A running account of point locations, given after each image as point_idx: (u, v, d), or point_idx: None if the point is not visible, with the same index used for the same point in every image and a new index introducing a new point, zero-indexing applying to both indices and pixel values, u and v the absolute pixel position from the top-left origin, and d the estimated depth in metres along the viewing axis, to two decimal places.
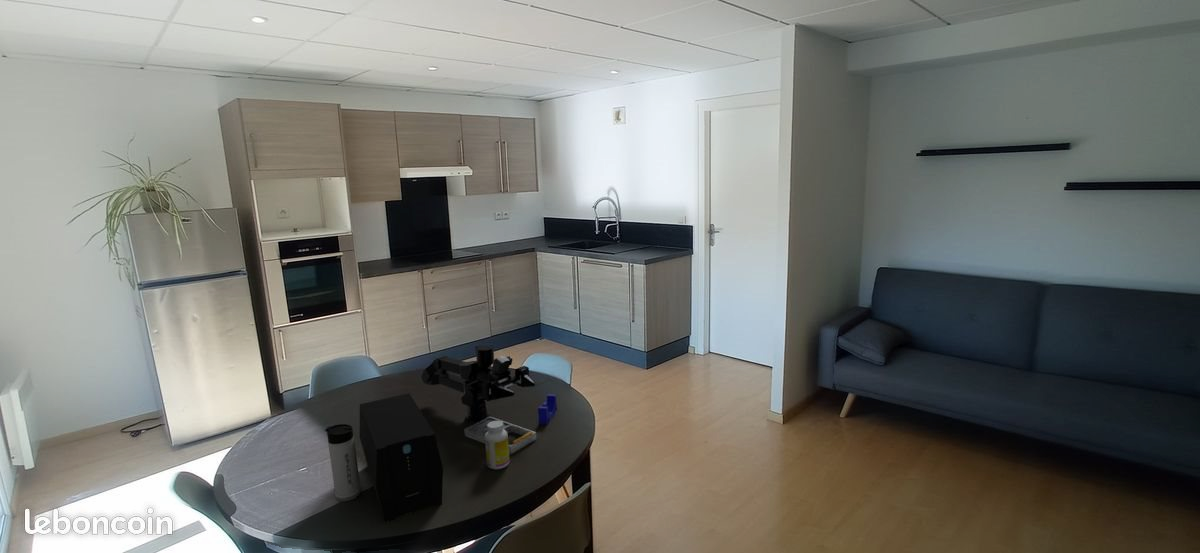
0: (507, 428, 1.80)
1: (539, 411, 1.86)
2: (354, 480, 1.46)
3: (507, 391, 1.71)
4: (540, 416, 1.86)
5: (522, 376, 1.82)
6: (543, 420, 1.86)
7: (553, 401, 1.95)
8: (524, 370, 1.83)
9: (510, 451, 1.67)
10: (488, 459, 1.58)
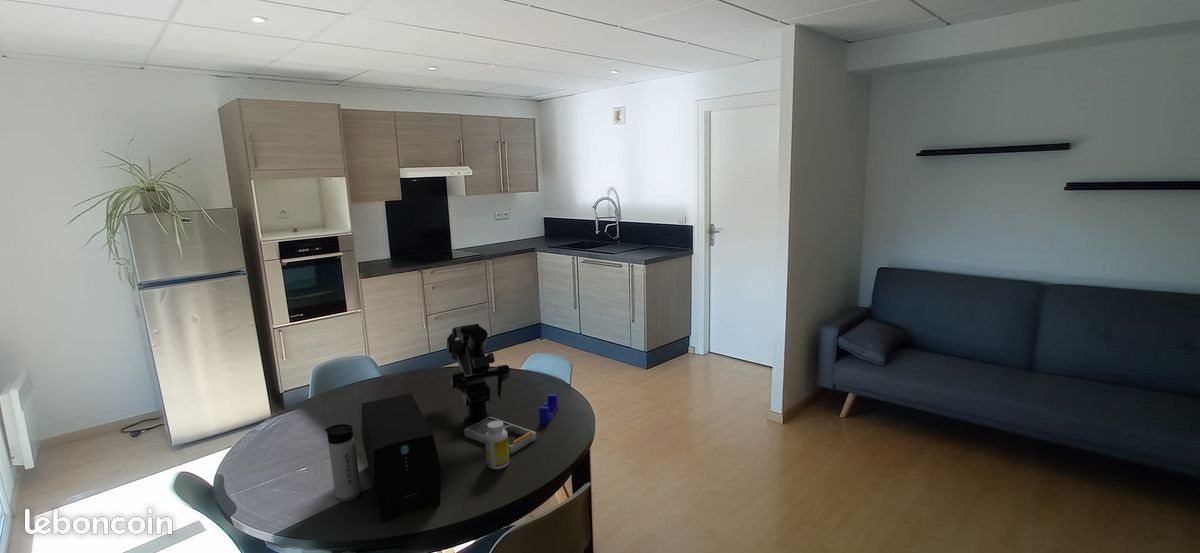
0: (507, 428, 1.80)
1: (540, 411, 1.86)
2: (354, 480, 1.46)
3: (467, 396, 1.73)
4: (541, 416, 1.86)
5: (497, 378, 1.78)
6: (544, 420, 1.86)
7: (554, 401, 1.95)
8: (502, 374, 1.78)
9: (510, 451, 1.67)
10: (488, 459, 1.58)
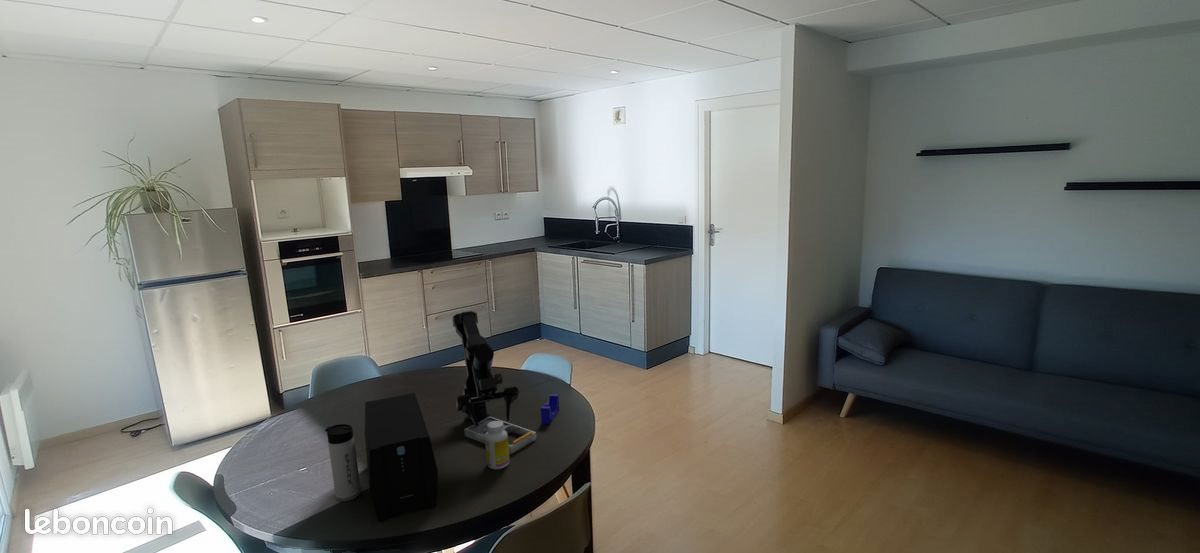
0: (507, 428, 1.80)
1: (542, 411, 1.86)
2: (354, 480, 1.46)
3: (473, 420, 1.61)
4: (543, 416, 1.86)
5: (505, 400, 1.67)
6: (546, 420, 1.86)
7: (555, 401, 1.95)
8: (510, 396, 1.66)
9: (510, 451, 1.67)
10: (488, 459, 1.58)
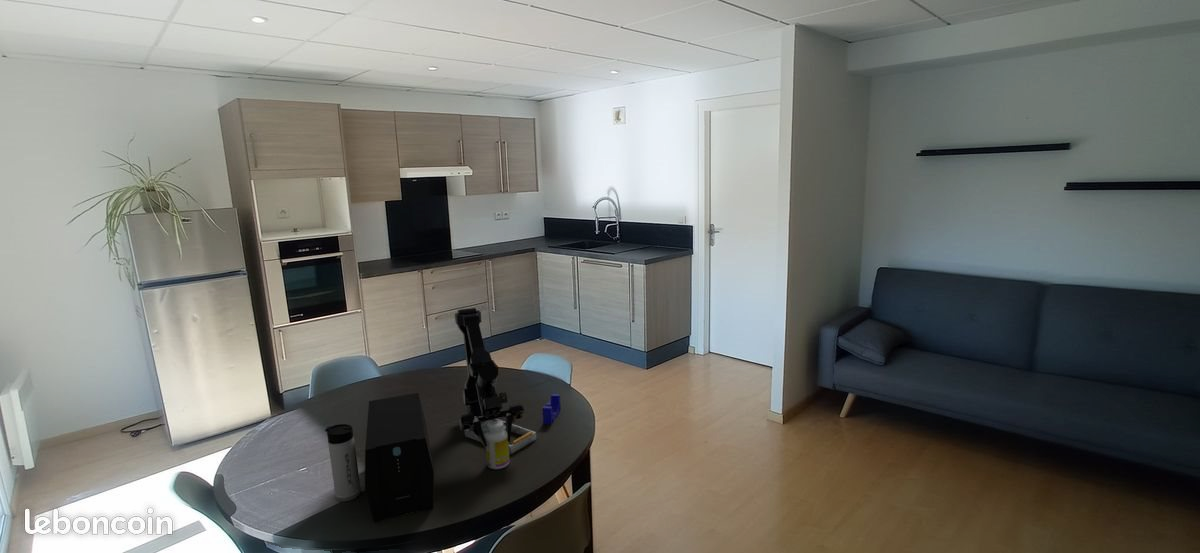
0: None
1: (543, 411, 1.86)
2: (354, 480, 1.46)
3: (481, 439, 1.57)
4: (544, 416, 1.86)
5: (507, 420, 1.62)
6: (547, 420, 1.86)
7: (557, 401, 1.95)
8: (512, 416, 1.62)
9: (510, 451, 1.67)
10: (488, 459, 1.58)
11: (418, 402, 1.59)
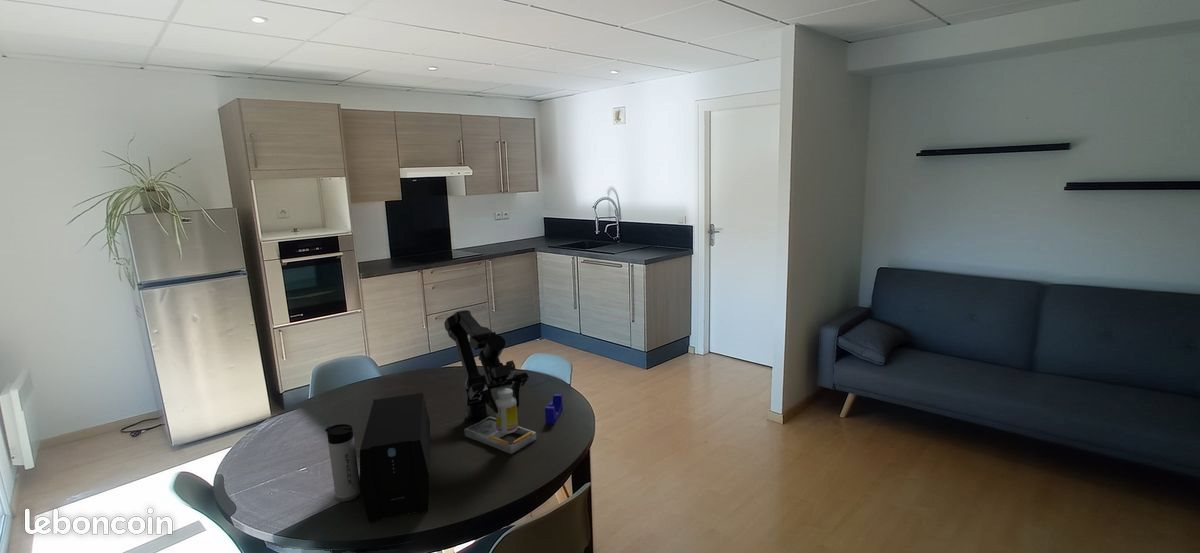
0: None
1: (546, 411, 1.86)
2: (354, 480, 1.46)
3: (493, 406, 1.65)
4: (547, 416, 1.86)
5: (513, 387, 1.71)
6: (550, 420, 1.86)
7: (559, 401, 1.95)
8: (519, 383, 1.71)
9: (510, 451, 1.67)
10: (499, 424, 1.66)
11: (420, 402, 1.58)
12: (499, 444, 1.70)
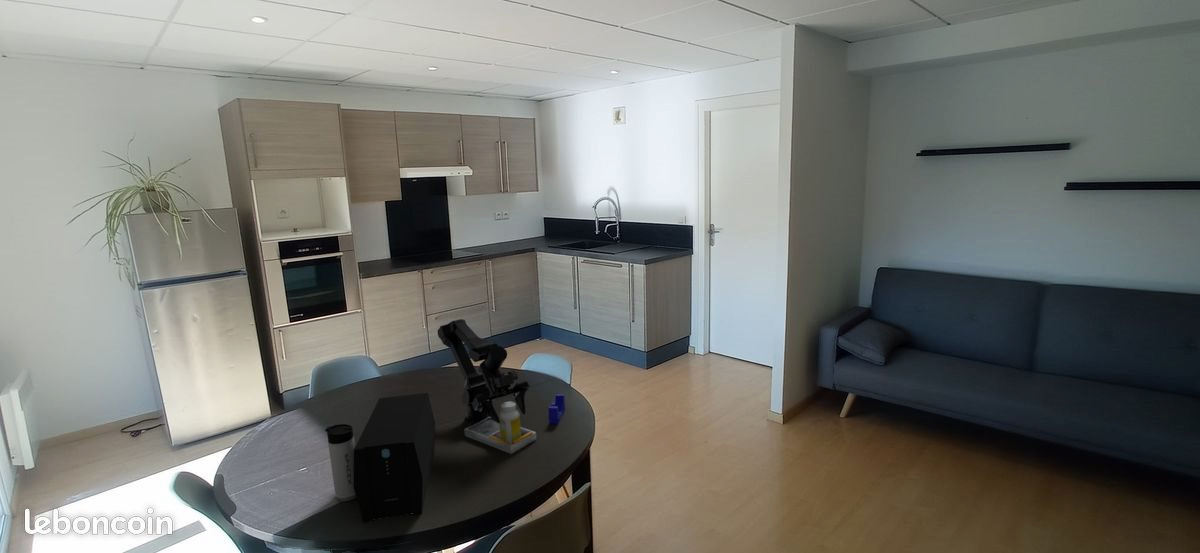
0: None
1: (549, 411, 1.85)
2: None
3: (495, 416, 1.69)
4: (550, 416, 1.86)
5: (519, 395, 1.77)
6: (553, 420, 1.86)
7: (562, 401, 1.95)
8: (524, 391, 1.77)
9: (510, 451, 1.67)
10: (504, 437, 1.71)
11: (423, 403, 1.58)
12: (499, 444, 1.70)
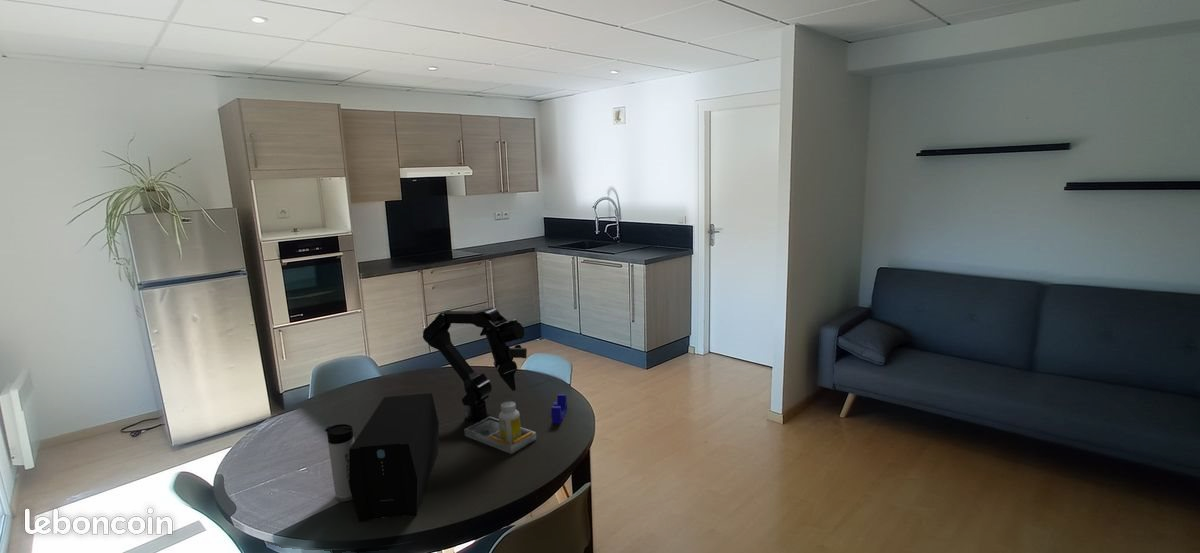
0: None
1: (552, 411, 1.85)
2: None
3: (514, 384, 1.79)
4: (553, 416, 1.86)
5: None
6: (556, 420, 1.86)
7: (564, 401, 1.95)
8: None
9: (510, 451, 1.67)
10: (504, 437, 1.71)
11: (425, 403, 1.58)
12: (499, 444, 1.70)
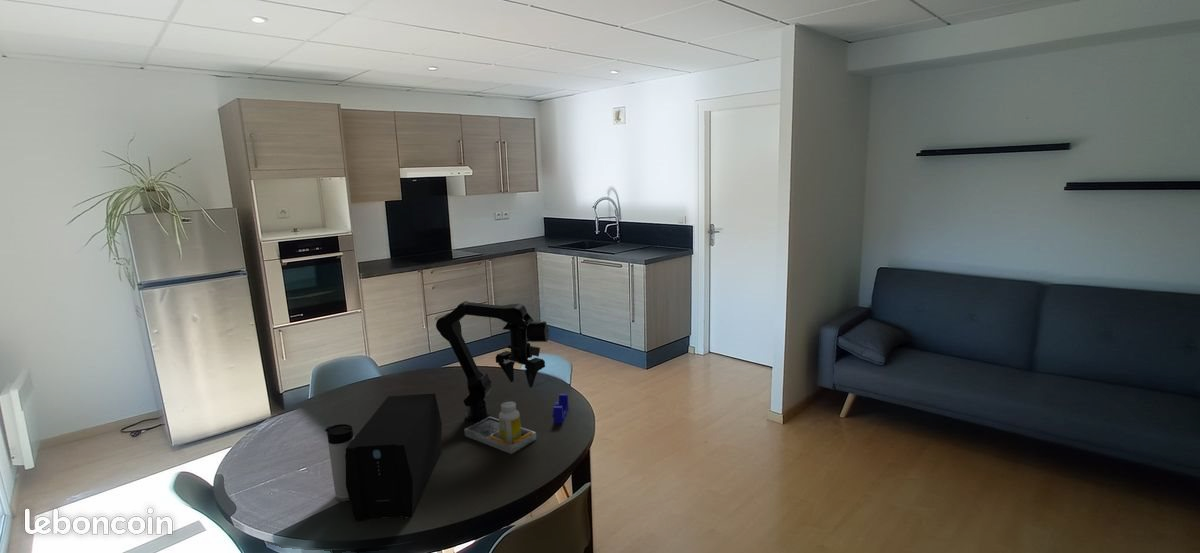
0: None
1: (554, 411, 1.86)
2: None
3: (533, 381, 1.85)
4: (555, 416, 1.86)
5: (512, 364, 1.91)
6: (558, 420, 1.86)
7: (565, 400, 1.95)
8: None
9: (510, 451, 1.67)
10: (504, 437, 1.71)
11: (427, 404, 1.57)
12: (499, 444, 1.70)
